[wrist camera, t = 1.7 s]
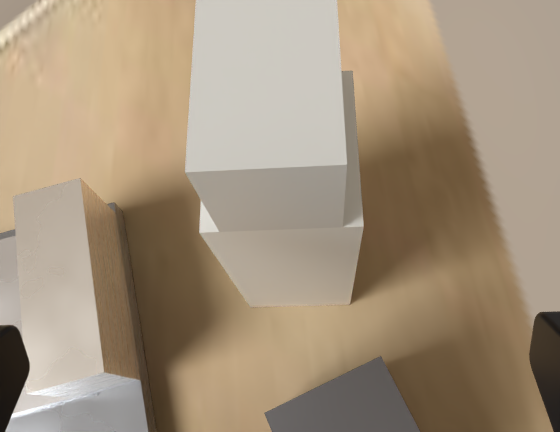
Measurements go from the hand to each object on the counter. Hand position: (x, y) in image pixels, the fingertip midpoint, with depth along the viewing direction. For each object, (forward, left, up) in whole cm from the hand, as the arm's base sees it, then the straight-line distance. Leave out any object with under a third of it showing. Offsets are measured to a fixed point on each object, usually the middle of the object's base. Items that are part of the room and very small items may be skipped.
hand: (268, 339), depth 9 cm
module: (+5, -1, -12) cm, 13 cm away
